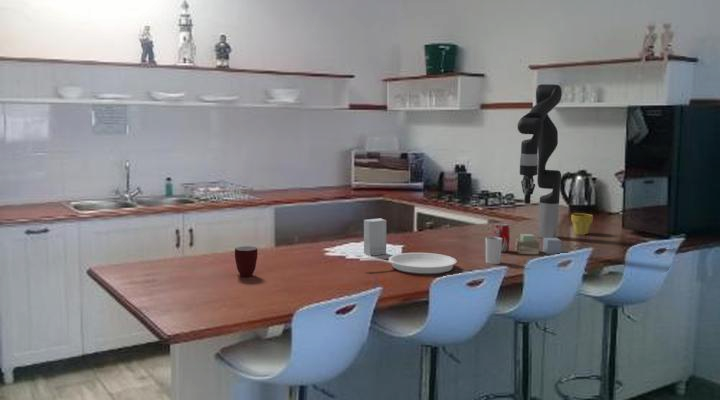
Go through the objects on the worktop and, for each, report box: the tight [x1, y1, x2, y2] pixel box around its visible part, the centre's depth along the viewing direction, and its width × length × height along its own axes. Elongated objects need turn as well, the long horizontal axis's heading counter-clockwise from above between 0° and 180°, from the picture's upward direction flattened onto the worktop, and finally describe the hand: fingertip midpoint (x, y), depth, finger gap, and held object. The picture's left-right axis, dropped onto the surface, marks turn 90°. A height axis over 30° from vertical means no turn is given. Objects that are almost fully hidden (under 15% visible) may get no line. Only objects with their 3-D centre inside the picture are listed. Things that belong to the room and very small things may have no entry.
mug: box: [234, 245, 258, 278], centre depth 239 cm, size 11×8×10 cm
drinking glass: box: [484, 236, 502, 265], centre depth 265 cm, size 7×7×10 cm
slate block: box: [542, 237, 562, 255], centre depth 288 cm, size 6×6×6 cm
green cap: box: [519, 233, 536, 242], centre depth 287 cm, size 5×5×5 cm
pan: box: [359, 252, 458, 275], centre depth 253 cm, size 26×39×5 cm
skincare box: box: [363, 217, 387, 256], centre depth 278 cm, size 8×6×15 cm
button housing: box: [514, 238, 540, 255], centre depth 287 cm, size 8×8×5 cm
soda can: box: [492, 222, 511, 253], centre depth 289 cm, size 7×7×12 cm
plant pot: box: [570, 212, 594, 236], centre depth 336 cm, size 10×10×10 cm
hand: (527, 203), depth 289 cm, fingers closed
